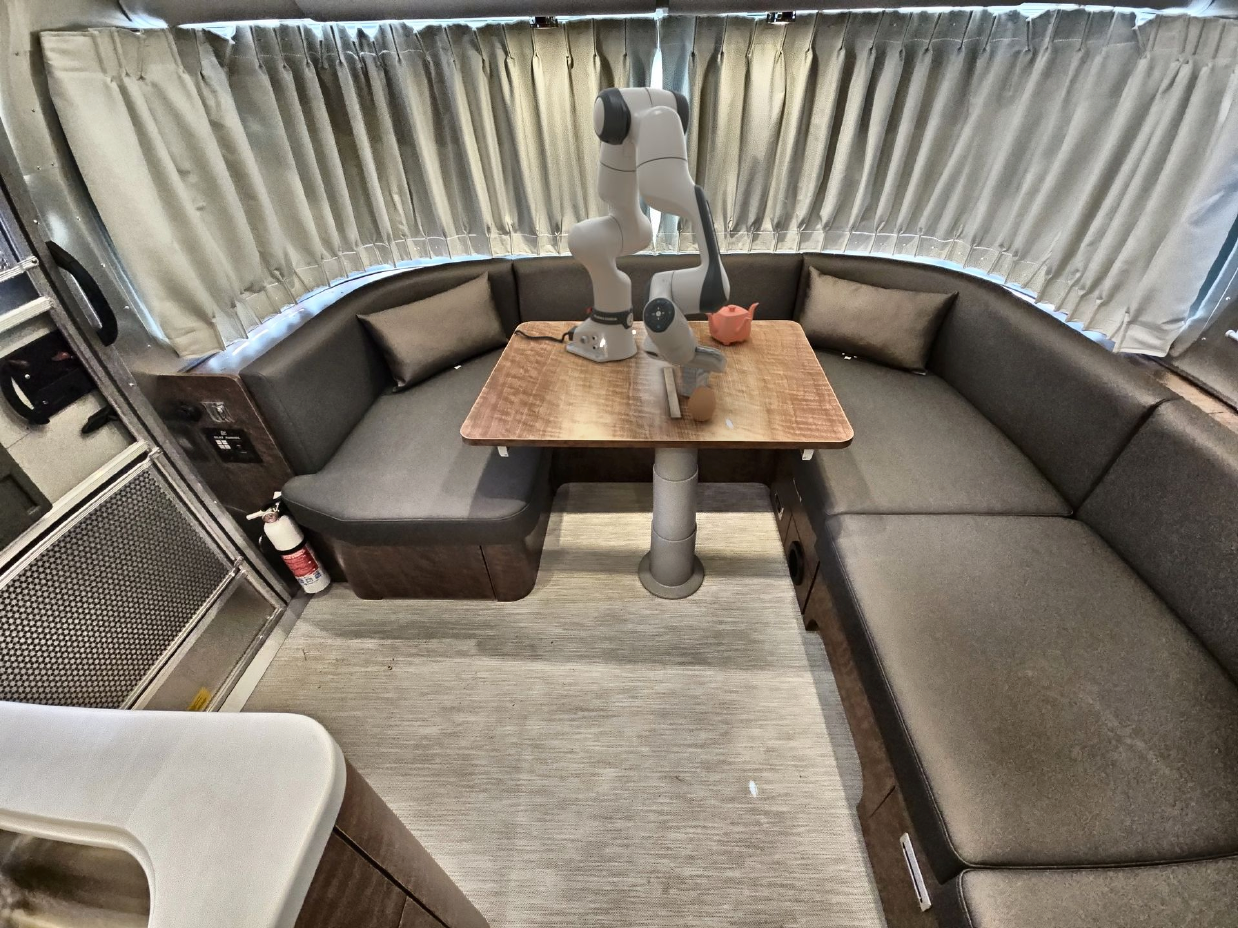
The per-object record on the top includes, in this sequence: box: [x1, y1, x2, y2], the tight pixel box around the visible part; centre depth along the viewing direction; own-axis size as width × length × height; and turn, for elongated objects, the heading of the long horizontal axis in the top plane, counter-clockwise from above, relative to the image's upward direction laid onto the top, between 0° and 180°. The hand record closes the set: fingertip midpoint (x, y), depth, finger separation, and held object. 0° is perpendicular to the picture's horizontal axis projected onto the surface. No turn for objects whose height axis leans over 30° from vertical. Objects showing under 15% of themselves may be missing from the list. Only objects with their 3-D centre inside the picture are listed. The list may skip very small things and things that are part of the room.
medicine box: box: [680, 365, 710, 398], centre depth 141 cm, size 8×4×9 cm, turn 148°
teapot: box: [704, 302, 759, 346], centre depth 169 cm, size 14×14×11 cm
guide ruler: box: [662, 367, 682, 419], centre depth 143 cm, size 2×28×1 cm, turn 0°
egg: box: [687, 386, 717, 422], centre depth 129 cm, size 7×7×9 cm
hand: (692, 367), depth 137 cm, fingers open, 8 cm apart
